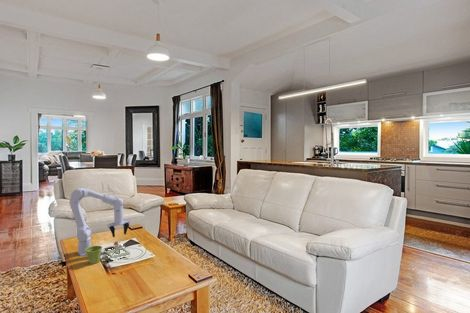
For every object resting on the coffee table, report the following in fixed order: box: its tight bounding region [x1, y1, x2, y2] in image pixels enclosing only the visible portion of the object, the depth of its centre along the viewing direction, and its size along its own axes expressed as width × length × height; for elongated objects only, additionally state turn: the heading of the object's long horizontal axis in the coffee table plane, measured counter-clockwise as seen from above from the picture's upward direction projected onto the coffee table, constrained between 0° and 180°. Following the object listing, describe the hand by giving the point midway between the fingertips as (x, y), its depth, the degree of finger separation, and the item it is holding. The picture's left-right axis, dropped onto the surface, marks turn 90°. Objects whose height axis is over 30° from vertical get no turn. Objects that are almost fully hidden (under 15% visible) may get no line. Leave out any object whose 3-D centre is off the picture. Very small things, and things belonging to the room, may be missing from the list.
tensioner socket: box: [103, 245, 115, 252], centre depth 191 cm, size 6×6×2 cm
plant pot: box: [85, 245, 103, 265], centre depth 175 cm, size 9×9×9 cm
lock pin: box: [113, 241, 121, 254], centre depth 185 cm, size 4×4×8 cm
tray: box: [106, 247, 131, 258], centre depth 184 cm, size 11×11×3 cm
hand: (119, 235), depth 193 cm, fingers open, 7 cm apart
